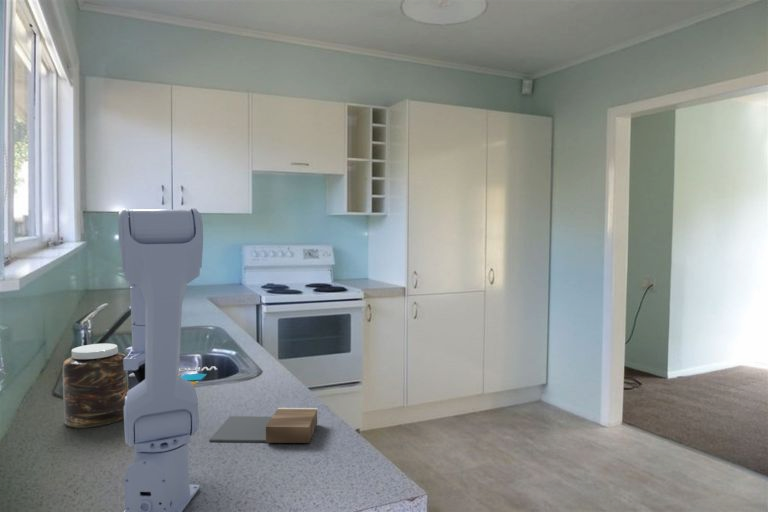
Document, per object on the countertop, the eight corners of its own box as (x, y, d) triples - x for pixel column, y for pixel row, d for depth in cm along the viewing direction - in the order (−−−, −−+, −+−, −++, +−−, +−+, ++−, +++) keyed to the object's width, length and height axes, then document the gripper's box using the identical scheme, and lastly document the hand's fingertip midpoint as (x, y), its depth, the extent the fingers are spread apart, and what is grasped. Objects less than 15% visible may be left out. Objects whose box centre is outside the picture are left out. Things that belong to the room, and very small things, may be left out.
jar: (105, 405, 122) (102, 339, 121) (140, 413, 116) (138, 344, 115) (52, 422, 111) (49, 350, 110) (88, 432, 106) (85, 357, 105)
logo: (217, 364, 153) (215, 385, 134) (217, 368, 153) (215, 389, 134) (130, 370, 147) (115, 393, 128) (131, 374, 147) (115, 397, 128)
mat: (304, 442, 101) (304, 440, 101) (209, 441, 101) (209, 439, 101) (315, 418, 113) (315, 417, 113) (229, 418, 113) (229, 416, 113)
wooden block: (308, 427, 99) (317, 408, 109) (265, 426, 100) (278, 407, 109) (309, 442, 99) (317, 422, 109) (266, 442, 100) (278, 422, 110)
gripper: (146, 314, 100) (149, 387, 101) (103, 331, 85) (106, 415, 86) (184, 315, 99) (186, 387, 100) (147, 331, 85) (150, 415, 86)
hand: (152, 400), depth 93 cm, fingers closed
